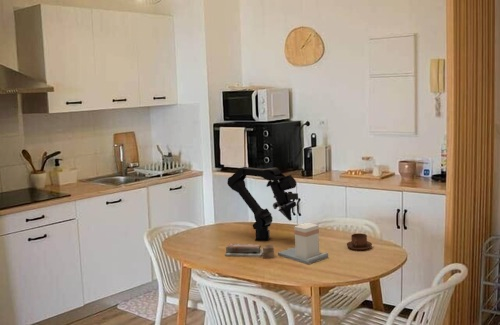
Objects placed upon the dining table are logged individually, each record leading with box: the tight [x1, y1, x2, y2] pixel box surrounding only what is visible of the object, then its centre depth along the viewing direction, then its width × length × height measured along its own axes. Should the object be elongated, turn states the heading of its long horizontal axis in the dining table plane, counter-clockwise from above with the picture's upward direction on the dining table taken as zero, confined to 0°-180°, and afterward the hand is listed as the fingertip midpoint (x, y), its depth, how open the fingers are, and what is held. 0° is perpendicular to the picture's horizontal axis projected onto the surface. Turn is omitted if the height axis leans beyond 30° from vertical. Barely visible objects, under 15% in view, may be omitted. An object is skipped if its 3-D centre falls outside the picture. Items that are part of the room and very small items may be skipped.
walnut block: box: [262, 244, 275, 259], centre depth 269 cm, size 5×5×5 cm
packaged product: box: [224, 243, 263, 258], centre depth 276 cm, size 18×5×10 cm
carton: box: [294, 222, 320, 259], centre depth 264 cm, size 7×9×14 cm
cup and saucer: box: [346, 233, 373, 251], centre depth 276 cm, size 12×12×6 cm
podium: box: [277, 246, 329, 265], centre depth 267 cm, size 20×13×2 cm, turn 40°
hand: (290, 220), depth 289 cm, fingers closed
